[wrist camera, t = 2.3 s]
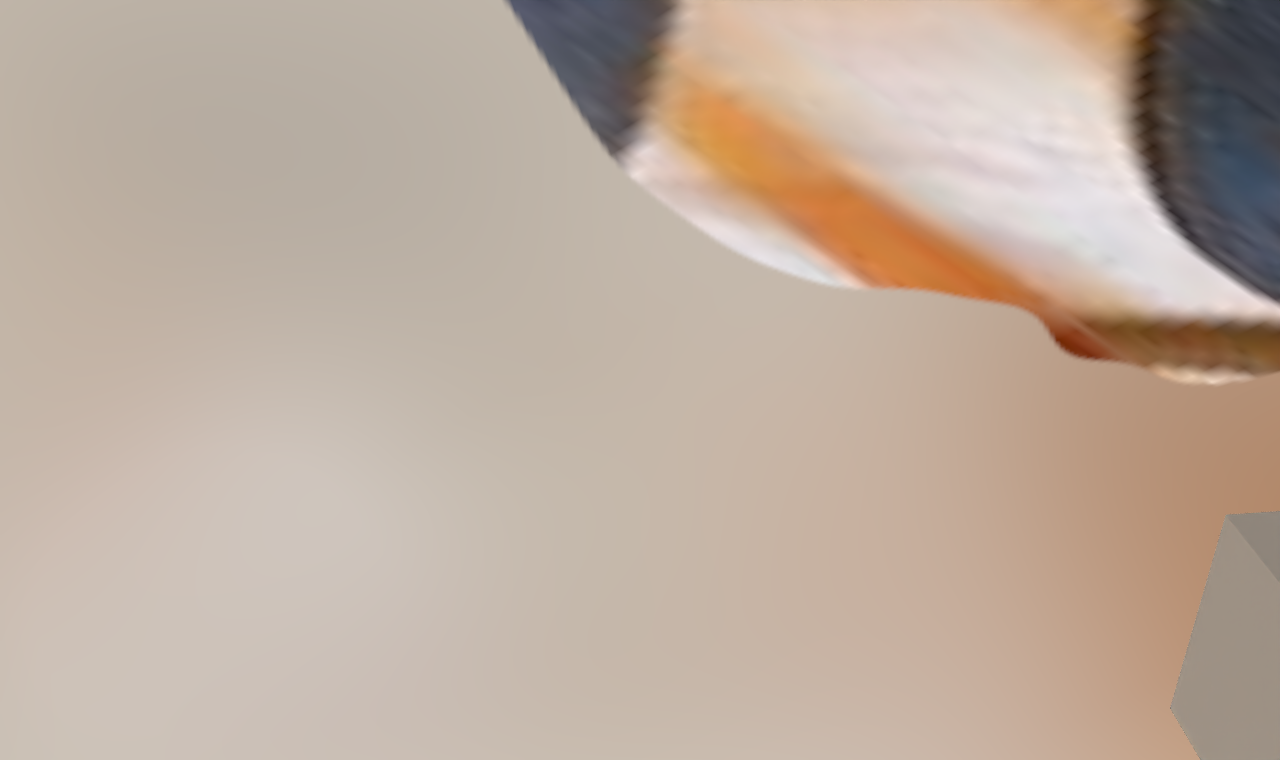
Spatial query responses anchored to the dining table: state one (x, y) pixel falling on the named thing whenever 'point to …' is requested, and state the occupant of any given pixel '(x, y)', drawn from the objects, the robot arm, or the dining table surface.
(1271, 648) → the robot arm
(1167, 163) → the dining table surface
